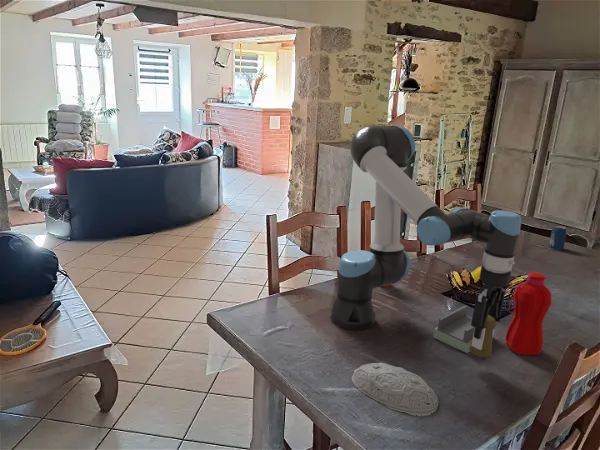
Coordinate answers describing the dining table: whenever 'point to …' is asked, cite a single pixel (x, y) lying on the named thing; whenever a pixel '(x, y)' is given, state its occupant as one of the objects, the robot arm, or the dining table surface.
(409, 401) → the embossed oval dome
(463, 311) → the grey tray
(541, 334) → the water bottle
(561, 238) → the soda can
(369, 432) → the dining table surface
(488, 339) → the olive pepper shaker
